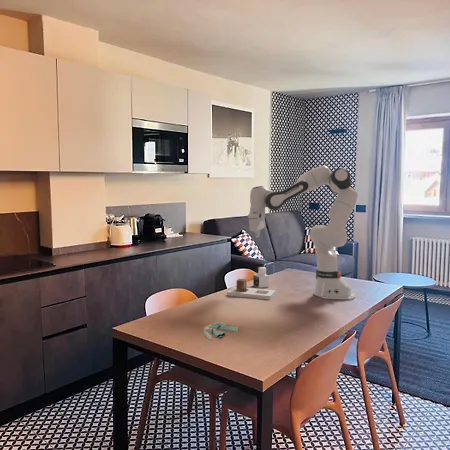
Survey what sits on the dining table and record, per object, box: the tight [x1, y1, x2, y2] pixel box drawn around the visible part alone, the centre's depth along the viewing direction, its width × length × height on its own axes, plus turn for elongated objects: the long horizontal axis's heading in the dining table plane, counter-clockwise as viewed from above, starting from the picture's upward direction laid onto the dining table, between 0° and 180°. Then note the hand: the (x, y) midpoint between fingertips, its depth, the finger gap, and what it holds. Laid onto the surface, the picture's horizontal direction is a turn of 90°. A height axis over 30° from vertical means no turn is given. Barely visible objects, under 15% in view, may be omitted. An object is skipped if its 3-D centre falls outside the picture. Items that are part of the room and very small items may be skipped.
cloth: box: [202, 321, 239, 340], centre depth 180 cm, size 20×22×2 cm
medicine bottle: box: [252, 266, 270, 289], centre depth 257 cm, size 7×7×12 cm
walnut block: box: [236, 278, 248, 292], centre depth 240 cm, size 4×4×8 cm
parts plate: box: [226, 286, 277, 301], centre depth 239 cm, size 25×13×2 cm, turn 69°
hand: (257, 237), depth 247 cm, fingers closed
